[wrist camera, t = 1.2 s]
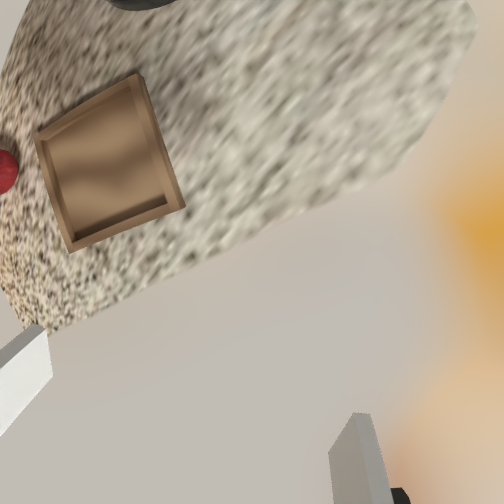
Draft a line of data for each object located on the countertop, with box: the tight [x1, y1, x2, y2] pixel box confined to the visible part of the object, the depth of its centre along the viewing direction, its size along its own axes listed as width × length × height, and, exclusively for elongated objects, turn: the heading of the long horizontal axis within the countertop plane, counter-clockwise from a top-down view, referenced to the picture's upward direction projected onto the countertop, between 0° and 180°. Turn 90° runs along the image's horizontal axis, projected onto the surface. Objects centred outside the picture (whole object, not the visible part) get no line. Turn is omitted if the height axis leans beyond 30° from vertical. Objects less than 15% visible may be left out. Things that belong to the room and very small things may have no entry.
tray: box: [33, 73, 186, 254], centre depth 30 cm, size 15×15×2 cm
